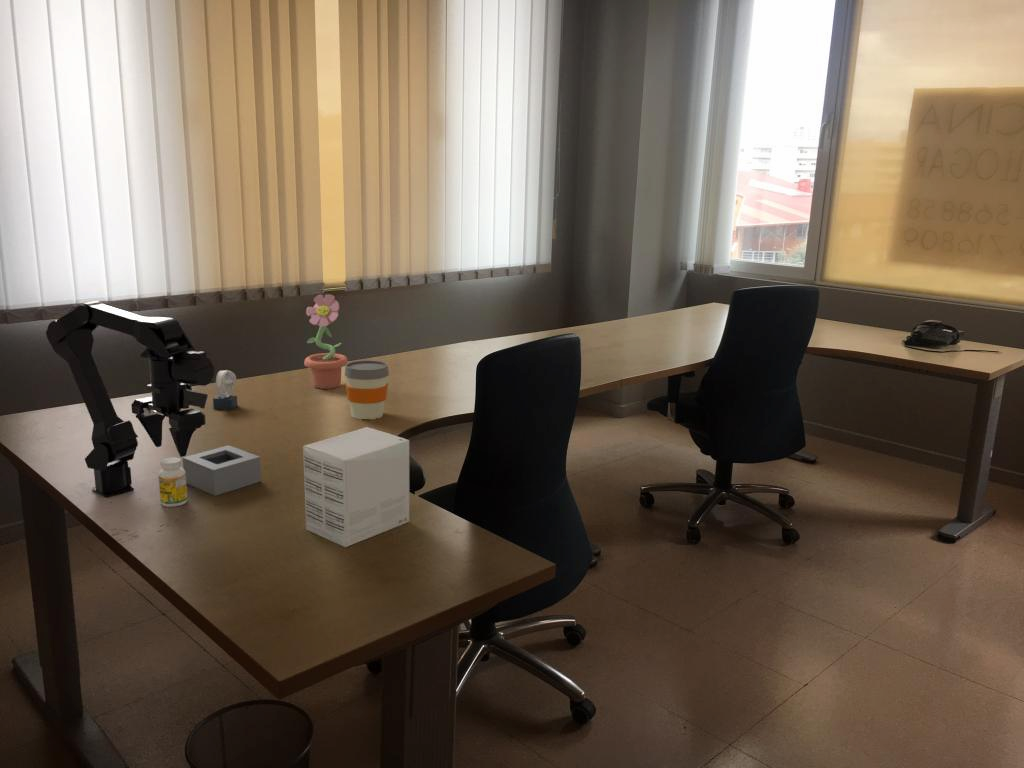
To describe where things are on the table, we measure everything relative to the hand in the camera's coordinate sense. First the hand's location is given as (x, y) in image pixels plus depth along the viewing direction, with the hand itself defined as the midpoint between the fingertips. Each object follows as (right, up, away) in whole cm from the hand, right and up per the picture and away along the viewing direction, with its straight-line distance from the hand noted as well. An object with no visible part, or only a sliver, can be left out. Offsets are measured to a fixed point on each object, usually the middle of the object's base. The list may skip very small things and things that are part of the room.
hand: (170, 451), depth 185 cm
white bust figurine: (-13, +7, +74) cm, 75 cm away
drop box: (+6, -8, +15) cm, 18 cm away
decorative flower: (+11, +13, +100) cm, 102 cm away
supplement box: (+41, -15, -6) cm, 44 cm away
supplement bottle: (0, -11, +3) cm, 12 cm away
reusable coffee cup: (+30, +5, +70) cm, 76 cm away
